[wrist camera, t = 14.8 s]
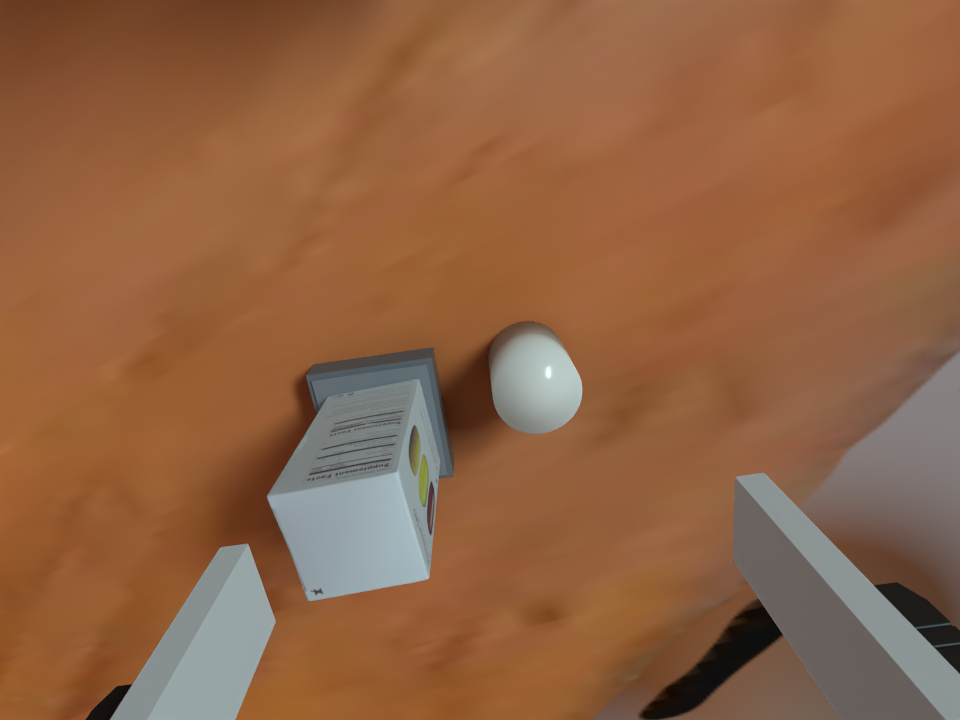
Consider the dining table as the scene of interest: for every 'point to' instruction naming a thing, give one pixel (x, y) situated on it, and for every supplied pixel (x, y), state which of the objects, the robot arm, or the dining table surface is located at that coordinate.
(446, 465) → the plate
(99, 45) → the dining table surface
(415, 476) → the supplement box
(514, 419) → the white rounded knob
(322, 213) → the dining table surface
